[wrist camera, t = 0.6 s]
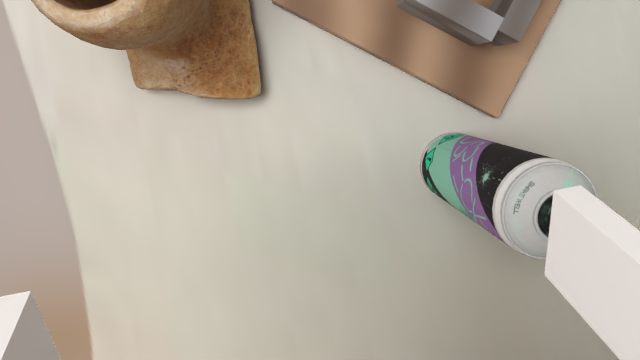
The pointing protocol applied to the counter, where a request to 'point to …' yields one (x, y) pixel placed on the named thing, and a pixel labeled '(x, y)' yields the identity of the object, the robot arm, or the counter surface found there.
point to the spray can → (500, 187)
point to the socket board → (441, 39)
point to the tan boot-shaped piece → (171, 41)
